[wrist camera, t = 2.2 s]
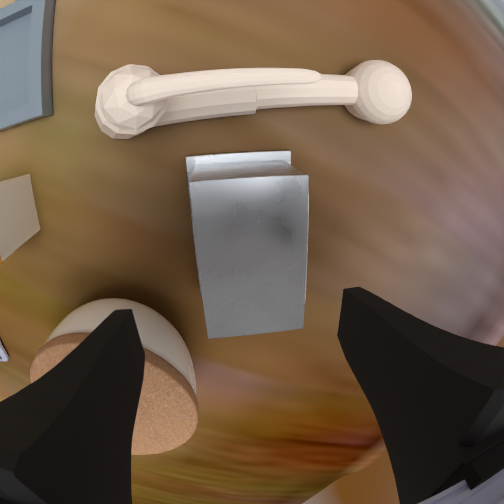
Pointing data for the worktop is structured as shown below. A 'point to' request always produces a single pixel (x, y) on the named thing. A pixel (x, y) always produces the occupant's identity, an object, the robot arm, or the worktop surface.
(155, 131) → the worktop surface
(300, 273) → the block
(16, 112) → the tray
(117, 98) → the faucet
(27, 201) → the cartridge
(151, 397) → the lidded jar
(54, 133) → the worktop surface
